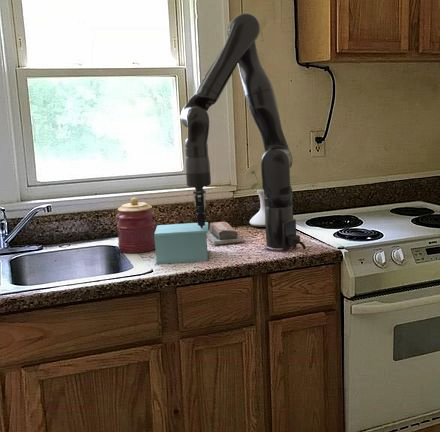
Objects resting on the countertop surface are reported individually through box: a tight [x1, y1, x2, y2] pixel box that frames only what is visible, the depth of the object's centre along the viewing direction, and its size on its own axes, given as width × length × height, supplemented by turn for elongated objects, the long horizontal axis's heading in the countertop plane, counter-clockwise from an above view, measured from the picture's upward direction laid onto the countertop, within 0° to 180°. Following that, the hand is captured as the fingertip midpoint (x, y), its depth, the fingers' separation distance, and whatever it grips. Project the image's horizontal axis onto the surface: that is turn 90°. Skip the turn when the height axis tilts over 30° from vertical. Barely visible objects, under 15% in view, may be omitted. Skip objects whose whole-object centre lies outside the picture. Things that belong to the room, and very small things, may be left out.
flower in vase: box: [243, 161, 266, 228], centre depth 243 cm, size 13×11×25 cm
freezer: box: [154, 233, 208, 265], centre depth 203 cm, size 16×13×9 cm
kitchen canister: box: [115, 197, 157, 254], centre depth 216 cm, size 13×13×18 cm
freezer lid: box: [154, 221, 209, 236], centre depth 202 cm, size 16×13×5 cm
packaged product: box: [206, 221, 243, 246], centre depth 226 cm, size 18×5×10 cm
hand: (201, 223), depth 203 cm, fingers closed on freezer lid, 5 cm apart
